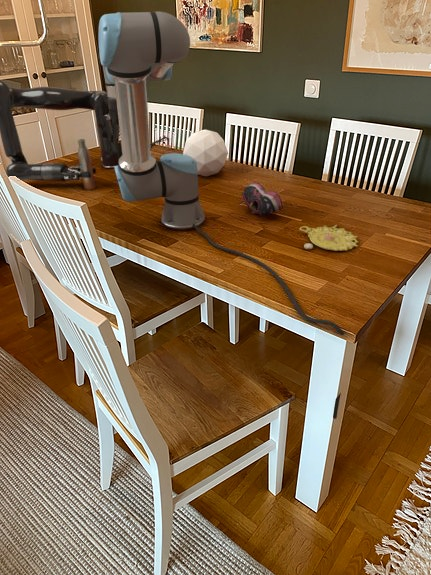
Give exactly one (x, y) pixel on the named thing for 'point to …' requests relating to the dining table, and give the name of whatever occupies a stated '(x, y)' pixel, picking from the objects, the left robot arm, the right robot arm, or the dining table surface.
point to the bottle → (85, 164)
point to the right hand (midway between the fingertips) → (126, 160)
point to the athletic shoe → (261, 200)
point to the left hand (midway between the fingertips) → (93, 172)
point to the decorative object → (330, 238)
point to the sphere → (206, 151)
